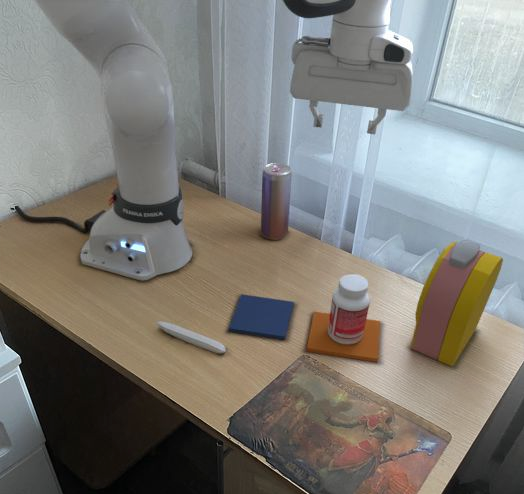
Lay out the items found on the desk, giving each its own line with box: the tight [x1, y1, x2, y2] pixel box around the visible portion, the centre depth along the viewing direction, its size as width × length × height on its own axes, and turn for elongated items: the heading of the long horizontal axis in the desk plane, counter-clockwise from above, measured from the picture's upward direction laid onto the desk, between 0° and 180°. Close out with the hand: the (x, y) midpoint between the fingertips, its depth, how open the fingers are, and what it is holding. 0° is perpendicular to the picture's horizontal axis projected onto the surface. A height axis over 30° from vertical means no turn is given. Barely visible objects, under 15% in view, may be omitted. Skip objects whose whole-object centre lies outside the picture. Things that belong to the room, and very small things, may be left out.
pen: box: [155, 321, 227, 354], centre depth 91 cm, size 2×14×2 cm, turn 63°
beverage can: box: [260, 162, 293, 241], centre depth 113 cm, size 6×6×15 cm
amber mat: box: [305, 311, 381, 363], centre depth 93 cm, size 12×10×1 cm
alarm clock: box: [410, 239, 504, 367], centre depth 88 cm, size 15×8×18 cm, turn 145°
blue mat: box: [228, 294, 295, 341], centre depth 97 cm, size 10×10×1 cm
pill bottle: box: [328, 273, 371, 344], centre depth 89 cm, size 6×6×11 cm
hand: (344, 129), depth 94 cm, fingers open, 8 cm apart
